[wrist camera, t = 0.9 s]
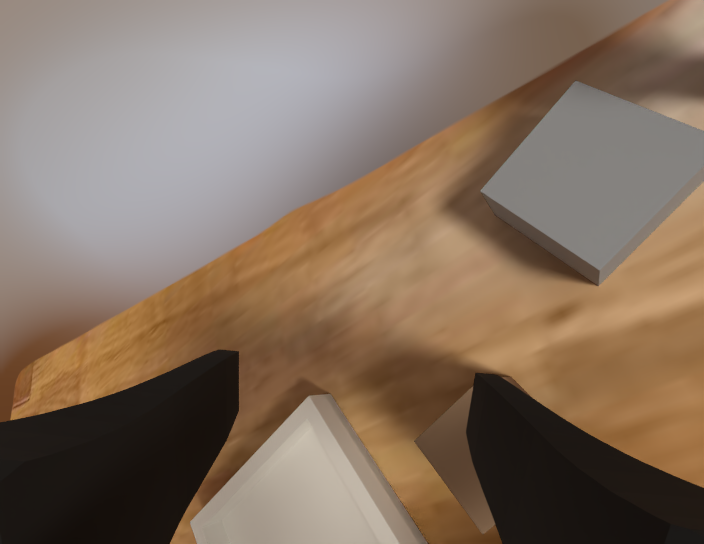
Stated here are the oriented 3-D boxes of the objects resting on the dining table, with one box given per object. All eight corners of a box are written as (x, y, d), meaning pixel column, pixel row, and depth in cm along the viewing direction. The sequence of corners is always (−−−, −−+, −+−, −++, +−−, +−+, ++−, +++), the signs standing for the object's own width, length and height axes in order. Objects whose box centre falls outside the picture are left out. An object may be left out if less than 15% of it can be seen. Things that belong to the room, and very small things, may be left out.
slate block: (704, 181, 19) (728, 140, 16) (598, 286, 20) (599, 270, 17) (578, 122, 23) (575, 80, 19) (495, 215, 24) (479, 191, 21)
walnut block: (572, 439, 19) (564, 468, 13) (514, 487, 20) (482, 534, 14) (511, 376, 21) (481, 378, 16) (460, 423, 22) (414, 440, 16)
